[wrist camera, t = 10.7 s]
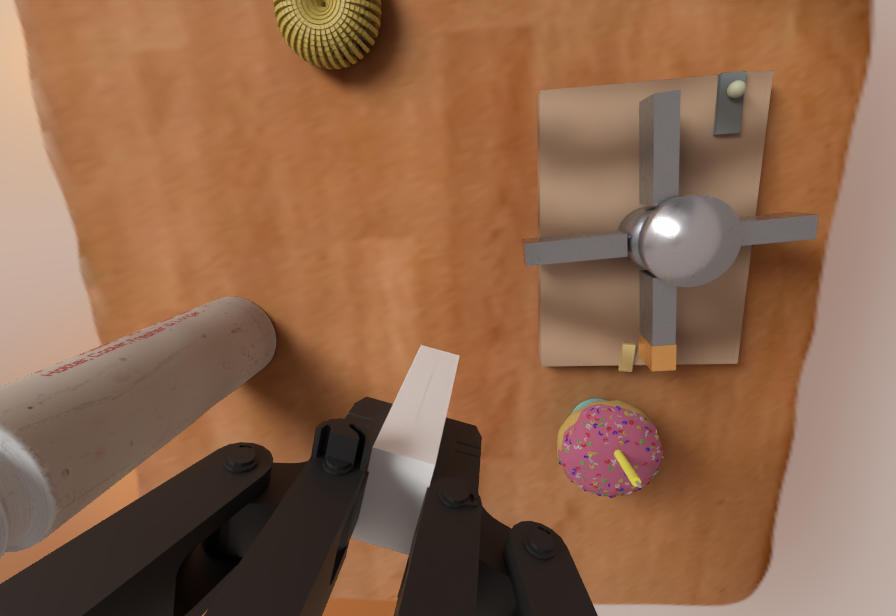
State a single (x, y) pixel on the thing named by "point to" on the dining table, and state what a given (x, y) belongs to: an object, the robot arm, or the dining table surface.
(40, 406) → the thermos bottle
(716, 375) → the dining table surface
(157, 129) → the dining table surface
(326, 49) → the sculpture
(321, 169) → the dining table surface
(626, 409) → the cupcake
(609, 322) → the stand
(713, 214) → the capstan
